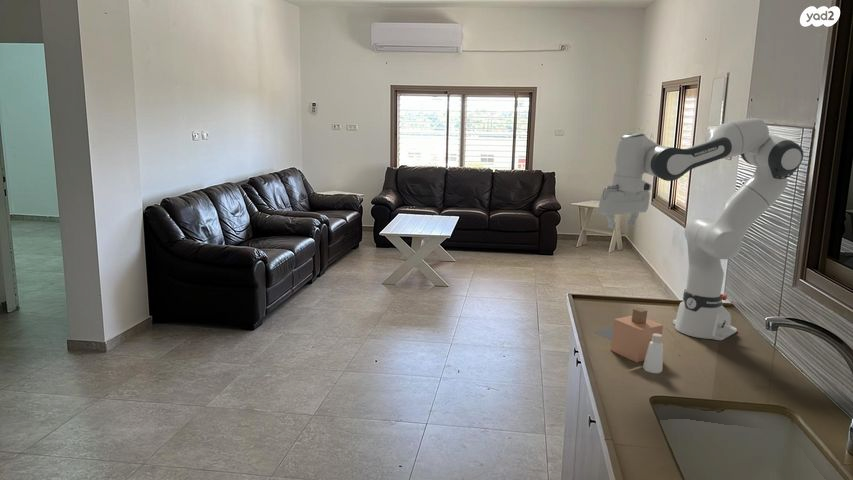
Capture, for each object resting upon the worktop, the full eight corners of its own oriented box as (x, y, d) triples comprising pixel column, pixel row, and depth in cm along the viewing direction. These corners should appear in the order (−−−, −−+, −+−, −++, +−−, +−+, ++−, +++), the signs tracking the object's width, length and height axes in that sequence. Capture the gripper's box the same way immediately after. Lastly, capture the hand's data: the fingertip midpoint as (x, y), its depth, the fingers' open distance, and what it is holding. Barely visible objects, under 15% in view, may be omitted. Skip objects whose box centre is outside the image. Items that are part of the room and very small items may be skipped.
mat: (616, 327, 220) (616, 326, 220) (643, 339, 210) (644, 338, 210) (593, 333, 213) (593, 331, 213) (620, 345, 204) (620, 343, 204)
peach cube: (631, 346, 204) (637, 302, 201) (658, 357, 196) (664, 312, 192) (610, 351, 199) (616, 306, 195) (636, 363, 190) (643, 317, 187)
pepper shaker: (662, 375, 183) (667, 339, 181) (642, 371, 185) (647, 336, 183) (662, 367, 188) (667, 333, 186) (643, 364, 190) (648, 330, 188)
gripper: (612, 187, 194) (606, 231, 197) (655, 185, 205) (649, 226, 208) (596, 184, 199) (591, 227, 202) (639, 182, 210) (633, 223, 213)
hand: (621, 226), depth 205 cm, fingers open, 8 cm apart
